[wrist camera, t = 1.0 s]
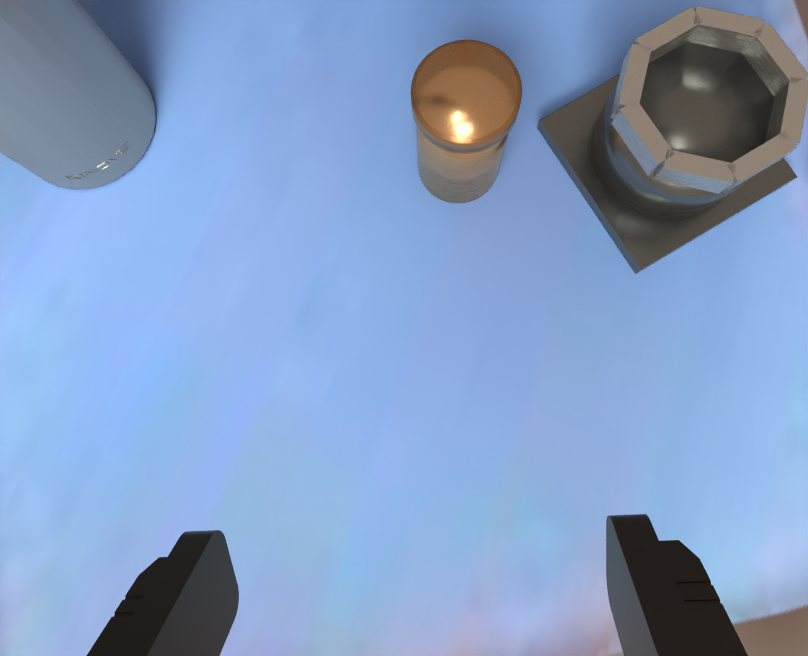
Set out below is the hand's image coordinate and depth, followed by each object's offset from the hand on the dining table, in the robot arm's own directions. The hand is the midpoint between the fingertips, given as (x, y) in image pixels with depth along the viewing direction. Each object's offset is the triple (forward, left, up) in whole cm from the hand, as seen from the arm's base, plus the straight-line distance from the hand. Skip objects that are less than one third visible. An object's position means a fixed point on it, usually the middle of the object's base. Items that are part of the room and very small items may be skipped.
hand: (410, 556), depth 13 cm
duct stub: (-9, +23, -24) cm, 34 cm away
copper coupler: (-15, +12, -24) cm, 31 cm away
